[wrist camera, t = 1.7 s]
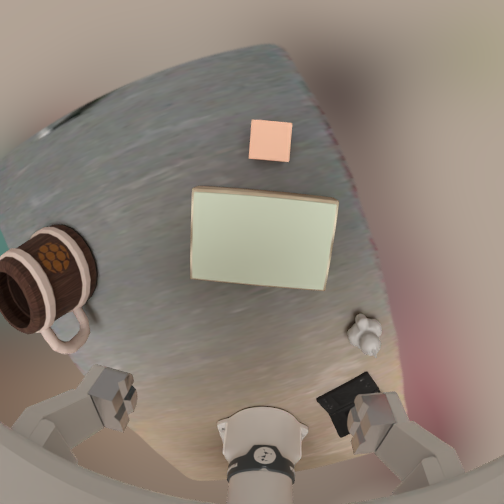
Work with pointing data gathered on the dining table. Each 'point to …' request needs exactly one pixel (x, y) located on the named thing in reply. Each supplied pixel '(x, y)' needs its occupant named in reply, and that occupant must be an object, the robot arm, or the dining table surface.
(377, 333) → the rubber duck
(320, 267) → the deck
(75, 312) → the mug
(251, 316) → the dining table surface
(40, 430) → the robot arm
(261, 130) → the terracotta block
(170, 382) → the dining table surface
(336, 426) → the handheld gaming console
